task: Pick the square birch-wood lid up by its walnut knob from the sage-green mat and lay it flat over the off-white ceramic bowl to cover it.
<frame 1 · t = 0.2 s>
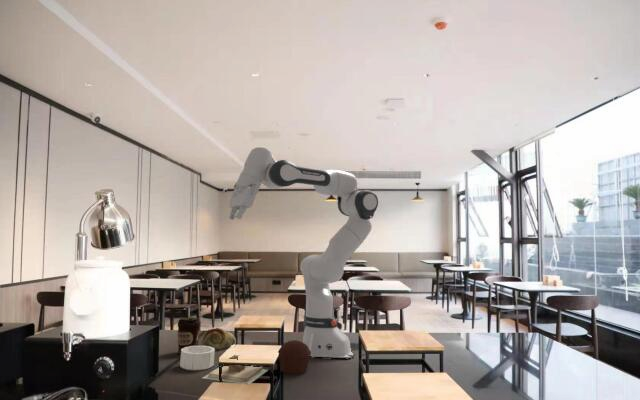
hand: (234, 218, 162), 52 cm above the table, tool tilted 20°, fingers open, 8 cm apart
mat: (236, 375, 138), on the table
muffin: (293, 372, 145), on the table
bowl: (196, 367, 145), on the table
pastry: (218, 347, 175), on the table
lid: (236, 373, 138), on the table, touching mat
coffee cup: (186, 353, 163), on the table
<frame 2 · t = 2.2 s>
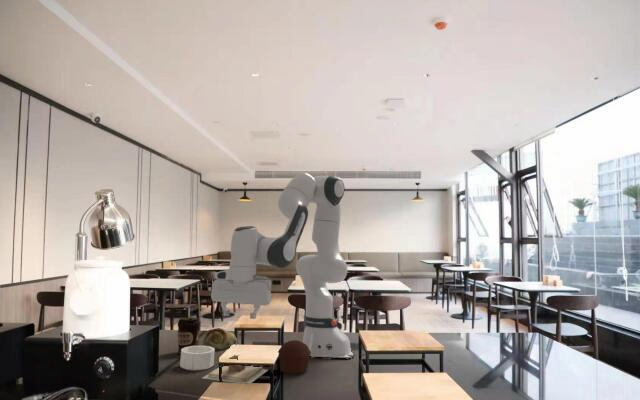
hand: (239, 317, 140), 18 cm above the table, tool pointing down, fingers open, 8 cm apart
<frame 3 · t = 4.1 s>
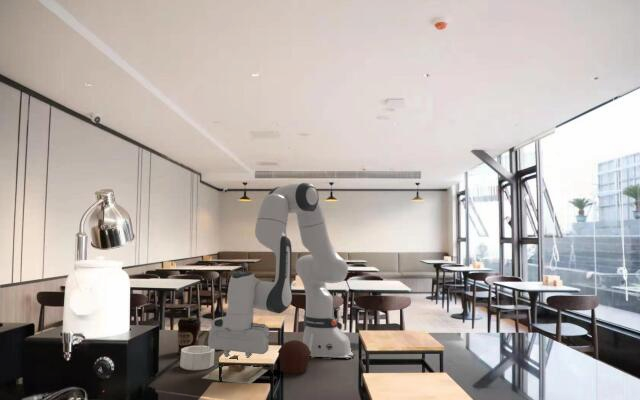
hand: (236, 365, 139), 3 cm above the table, tool pointing down, fingers closed on lid, 4 cm apart
lid: (236, 373, 138), on the table, touching gripper, mat
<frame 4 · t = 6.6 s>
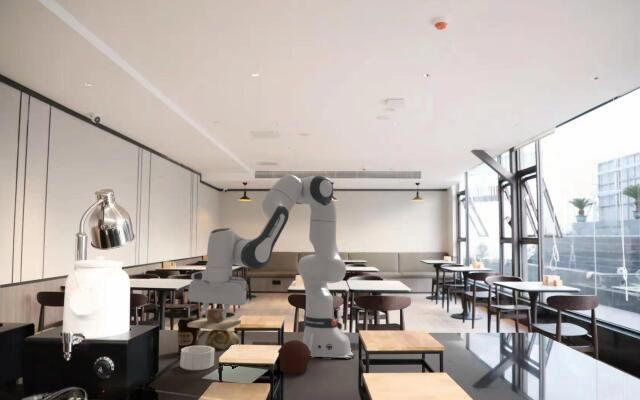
hand: (215, 317, 144), 18 cm above the table, tool pointing down, fingers closed on lid, 4 cm apart
lid: (214, 325, 143), point 15 cm above the table, touching gripper
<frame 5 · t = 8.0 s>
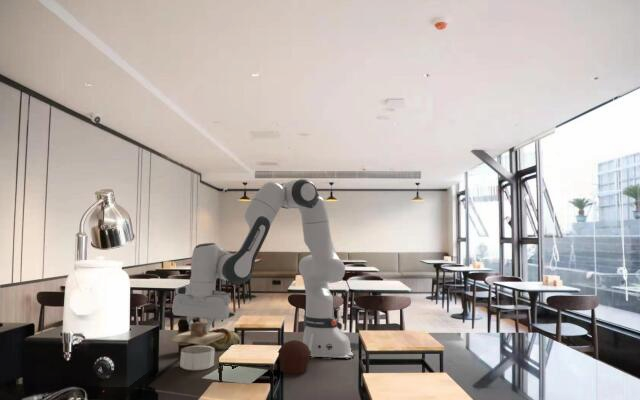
hand: (199, 330, 146), 12 cm above the table, tool pointing down, fingers closed on lid, 4 cm apart
lid: (198, 338, 146), point 9 cm above the table, touching gripper
when the fingers open (10 cm above the table, at t = 9.1 s): lid drops 1 cm, point 6 cm above the table.
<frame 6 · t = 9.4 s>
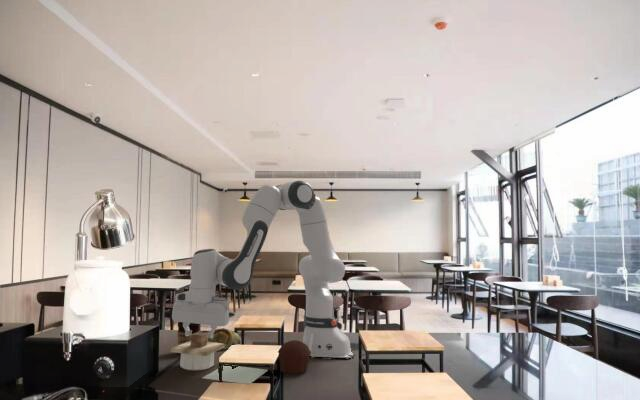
hand: (199, 336, 146), 10 cm above the table, tool pointing down, fingers open, 7 cm apart
lid: (198, 349, 146), point 6 cm above the table
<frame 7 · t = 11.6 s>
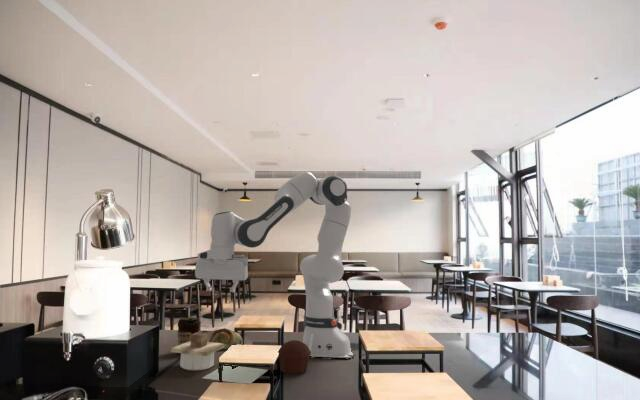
hand: (220, 291, 159), 24 cm above the table, tool pointing down, fingers open, 8 cm apart
bowl: (196, 367, 145), on the table, touching lid
lid: (198, 349, 146), point 6 cm above the table, touching bowl
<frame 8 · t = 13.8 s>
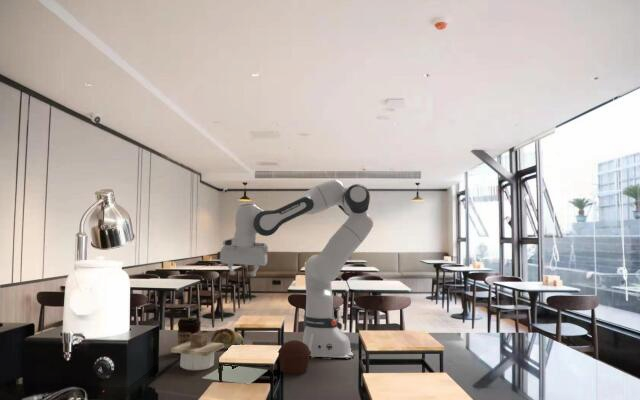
hand: (242, 275, 178), 29 cm above the table, tool pointing down, fingers open, 8 cm apart
at the end: lid 0.1 cm off-centre on the bowl, point 6.0 cm above the bowl's base; lid tilted 0°; lid touching nothing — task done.
